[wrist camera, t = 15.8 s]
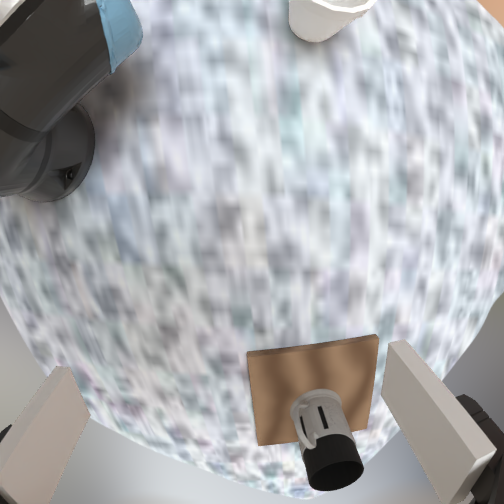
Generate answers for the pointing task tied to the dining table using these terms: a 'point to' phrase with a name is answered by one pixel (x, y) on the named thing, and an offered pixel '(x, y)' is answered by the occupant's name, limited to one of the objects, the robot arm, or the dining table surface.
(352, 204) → the dining table surface
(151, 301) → the dining table surface
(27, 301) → the dining table surface
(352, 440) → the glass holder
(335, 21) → the foam cup
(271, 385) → the walnut board
